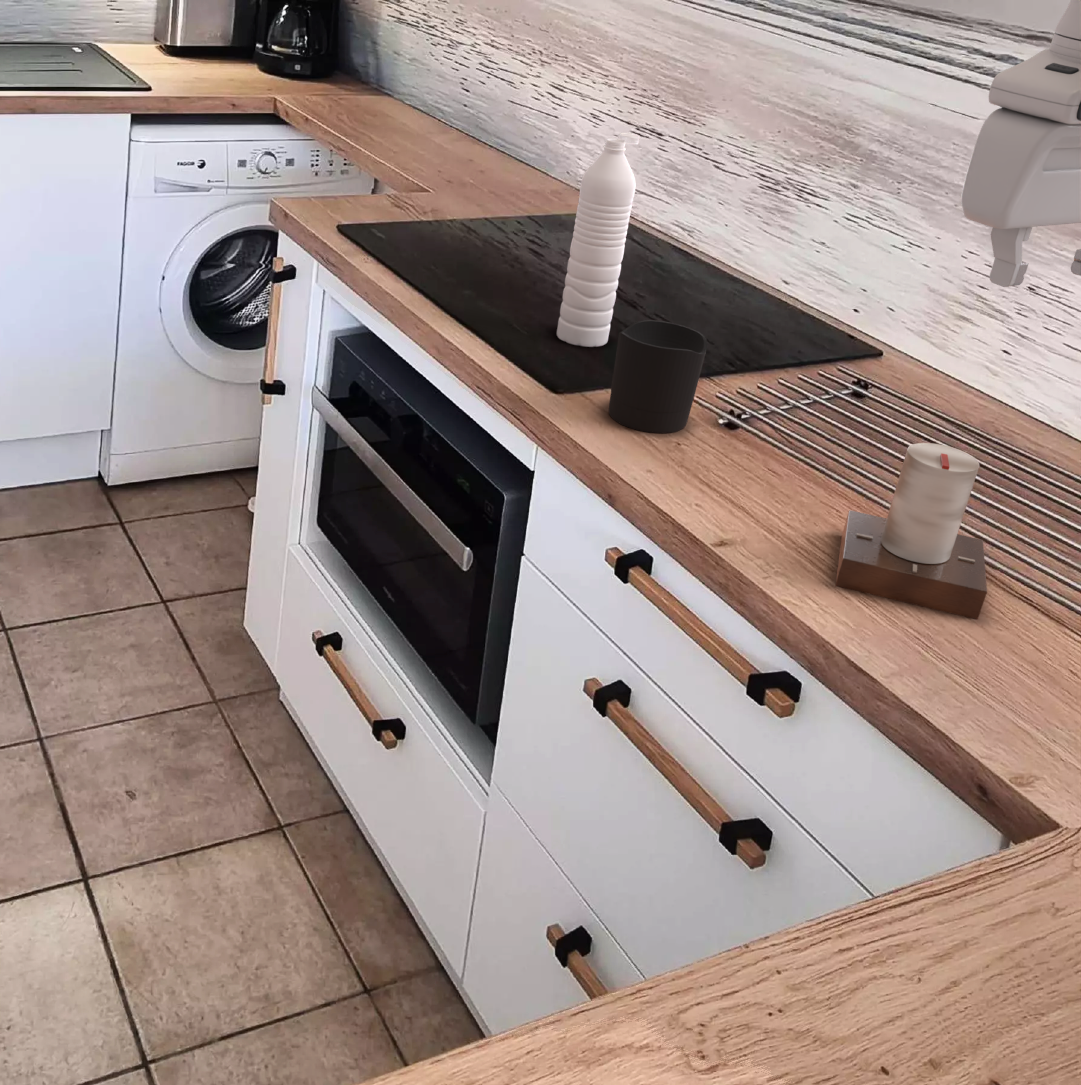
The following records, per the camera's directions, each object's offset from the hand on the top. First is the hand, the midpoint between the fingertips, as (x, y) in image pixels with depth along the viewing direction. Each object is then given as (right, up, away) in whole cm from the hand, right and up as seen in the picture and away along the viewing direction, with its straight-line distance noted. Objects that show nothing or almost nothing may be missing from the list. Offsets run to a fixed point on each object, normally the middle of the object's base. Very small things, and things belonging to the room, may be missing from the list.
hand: (1045, 279), depth 105 cm
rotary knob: (-1, -20, +23) cm, 30 cm away
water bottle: (-22, +7, +76) cm, 80 cm away
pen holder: (-19, -6, +53) cm, 56 cm away
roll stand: (-1, -23, +24) cm, 33 cm away
